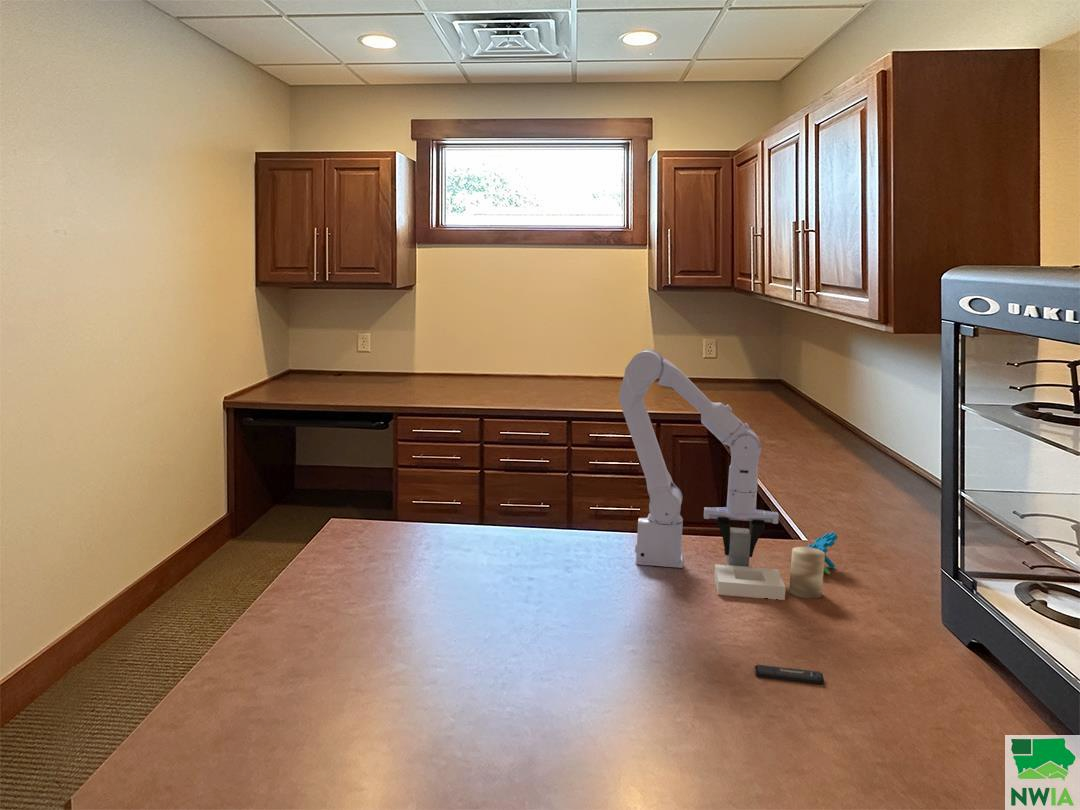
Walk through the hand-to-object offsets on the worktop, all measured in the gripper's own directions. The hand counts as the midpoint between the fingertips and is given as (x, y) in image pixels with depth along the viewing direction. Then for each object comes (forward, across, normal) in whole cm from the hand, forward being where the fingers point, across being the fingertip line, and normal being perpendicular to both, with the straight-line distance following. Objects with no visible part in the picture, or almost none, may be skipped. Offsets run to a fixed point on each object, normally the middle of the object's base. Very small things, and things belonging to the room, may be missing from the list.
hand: (738, 554), depth 159 cm
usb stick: (+3, +3, -47) cm, 48 cm away
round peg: (+3, +12, -11) cm, 16 cm away
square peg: (+3, 0, 0) cm, 3 cm away
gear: (+3, +16, +5) cm, 17 cm away
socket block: (+3, +1, -11) cm, 11 cm away
